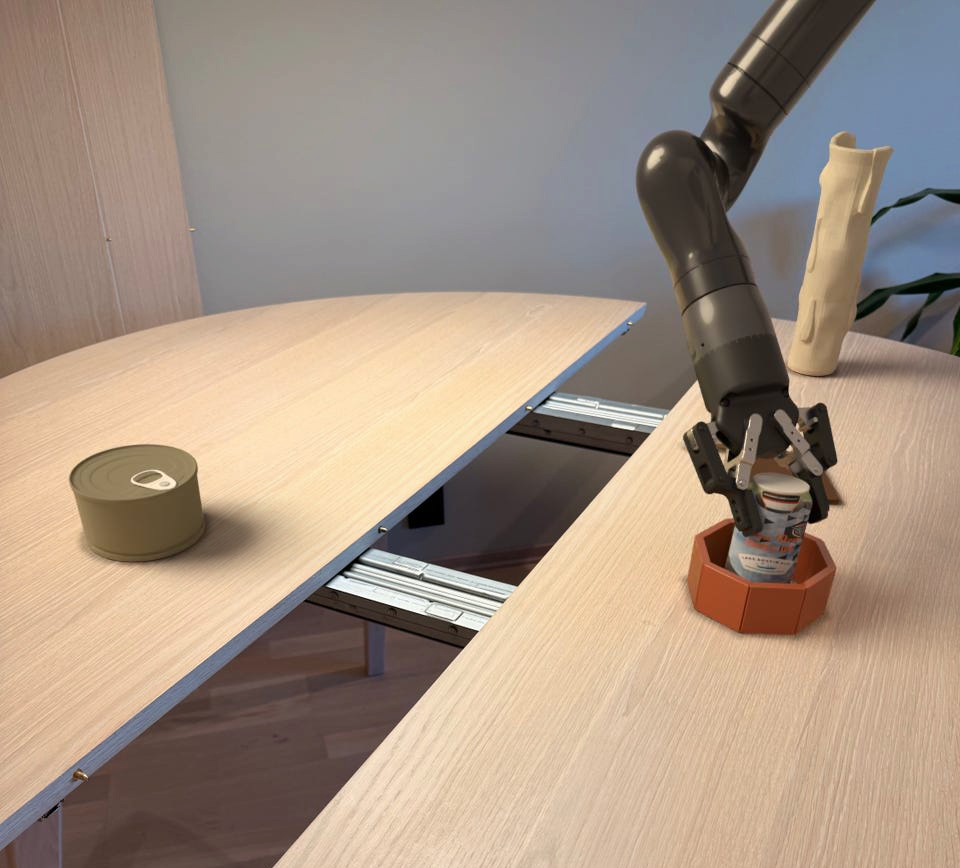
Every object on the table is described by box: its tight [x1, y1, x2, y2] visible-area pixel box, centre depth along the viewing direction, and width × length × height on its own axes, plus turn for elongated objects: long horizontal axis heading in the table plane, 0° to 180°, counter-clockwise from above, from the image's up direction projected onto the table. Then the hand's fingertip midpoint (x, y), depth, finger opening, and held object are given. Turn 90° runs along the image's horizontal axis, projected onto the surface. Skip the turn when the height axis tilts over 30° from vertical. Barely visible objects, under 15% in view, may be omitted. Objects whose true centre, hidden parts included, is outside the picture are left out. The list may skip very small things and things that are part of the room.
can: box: [68, 443, 206, 563], centre depth 97 cm, size 12×12×7 cm
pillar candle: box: [787, 130, 894, 377], centre depth 132 cm, size 9×8×30 cm
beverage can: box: [724, 473, 812, 584], centre depth 89 cm, size 6×7×12 cm
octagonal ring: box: [686, 518, 838, 636], centre depth 91 cm, size 12×12×5 cm
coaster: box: [749, 458, 841, 505], centre depth 111 cm, size 10×10×1 cm
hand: (786, 527), depth 86 cm, fingers closed on beverage can, 6 cm apart
